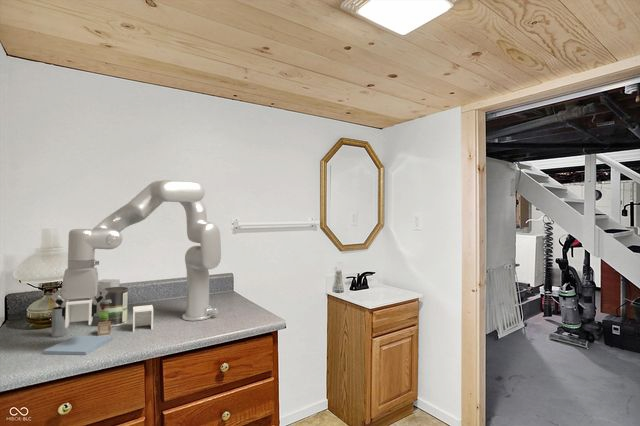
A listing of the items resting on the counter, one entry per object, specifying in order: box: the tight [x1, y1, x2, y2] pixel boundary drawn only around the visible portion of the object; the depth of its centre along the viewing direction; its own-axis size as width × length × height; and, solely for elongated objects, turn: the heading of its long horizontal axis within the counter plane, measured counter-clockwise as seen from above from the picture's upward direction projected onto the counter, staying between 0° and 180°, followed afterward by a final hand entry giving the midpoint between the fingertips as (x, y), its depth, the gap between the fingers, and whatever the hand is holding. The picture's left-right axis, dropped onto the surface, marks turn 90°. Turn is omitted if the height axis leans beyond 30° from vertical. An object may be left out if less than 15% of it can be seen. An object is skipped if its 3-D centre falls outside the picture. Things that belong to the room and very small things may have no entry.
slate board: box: [42, 335, 114, 356], centre depth 118 cm, size 14×14×1 cm
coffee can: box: [98, 286, 129, 328], centre depth 143 cm, size 10×10×14 cm
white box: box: [65, 298, 94, 329], centre depth 118 cm, size 7×7×8 cm
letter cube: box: [97, 321, 112, 336], centre depth 131 cm, size 4×4×4 cm
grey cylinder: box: [51, 305, 68, 338], centre depth 128 cm, size 4×4×10 cm
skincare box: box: [93, 278, 121, 318], centre depth 154 cm, size 8×7×16 cm
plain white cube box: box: [132, 304, 154, 333], centre depth 138 cm, size 7×7×8 cm
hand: (79, 316), depth 118 cm, fingers closed on white box, 7 cm apart
